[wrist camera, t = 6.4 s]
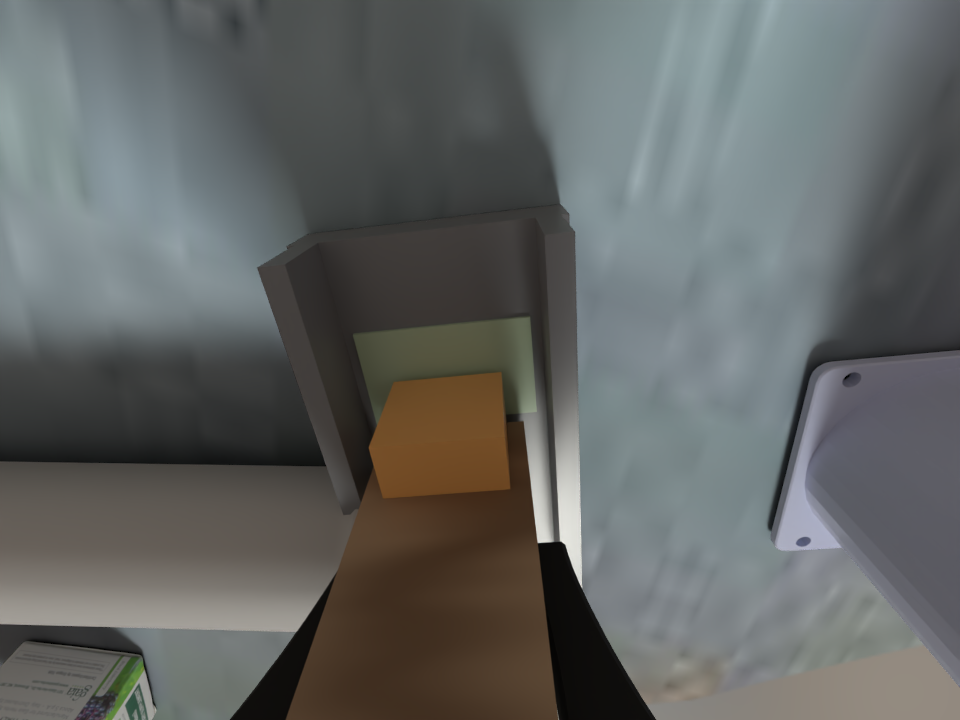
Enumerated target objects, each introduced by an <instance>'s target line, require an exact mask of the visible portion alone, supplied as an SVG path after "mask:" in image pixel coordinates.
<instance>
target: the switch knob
mask: <svg viewBox="0 0 960 720" xmlns="http://www.w3.org/2000/svg"><path fill="white" fill-rule="evenodd" d="M369 451H370V455H371V458H372V462H373V465H374V469H375V472H376V476H377V479H378V483H379V486H380V490H381V493H382V497H383V499H386V498H399V497H413V496H426V495H440V494H453V493H467V492H480V491H494V490H507V489H510V474H509V456H508V438H507V421H506V410H505V401H504V391H503V382H502V373H501V372H496V373H485V374H474V375H464V376H453V377H442V378H431V379H420V380H410V381H399V382H394V383H393V385H392V388H391V390H390V393H389V396H388V398H387V401H386V404H385V406H384V409H383V411H382V414H381V417H380V419H379V422H378V425H377V427H376V430H375V432H374V435H373V438H372V440H371V443H370V445H369Z"/></svg>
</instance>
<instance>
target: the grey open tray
mask: <svg viewBox="0 0 960 720" xmlns="http://www.w3.org/2000/svg"><path fill="white" fill-rule="evenodd" d="M257 268H258V271H259V274H260V277H261V280H262V283H263V286H264V289H265V291H266V294H267V297H268V300H269V303H270V306H271V309H272V312H273V314H274V317H275V320H276V323H277V326H278V329H279V332H280V334H281V337H282V340H283V343H284V346H285V349H286V352H287V355H288V357H289V360H290V363H291V366H292V369H293V372H294V375H295V378H296V380H297V383H298V386H299V389H300V392H301V395H302V398H303V401H304V403H305V406H306V409H307V412H308V415H309V418H310V421H311V424H312V426H313V429H314V432H315V435H316V438H317V441H318V444H319V446H320V449H321V452H322V455H323V458H324V461H325V464H326V467H327V469H328V472H329V475H330V478H331V481H332V484H333V487H334V490H335V492H336V495H337V498H338V501H339V504H340V507H341V510H342V513H343V515H350V514H351V513H352V512H353V511H354V510H355V509H359V507H360V504H361V502H362V499H363V496H364V493H365V490H366V487H367V484H368V481H369V479H370V476H371V473H372V470H373V467H374V465H373V462H372V458H371V455H370V451H369V445H370V443H371V440H372V438H373V435H374V432H375V430H376V427H377V425H378V422H379V419H380V417H381V414H382V411H383V409H384V406H385V404H386V401H387V398H388V396H389V393H390V390H391V388H392V385H393V383H394V382H399V381H410V380H420V379H431V378H442V377H453V376H464V375H474V374H485V373H496V372H501V373H502V382H503V391H504V401H505V410H506V421H507V423H508V422H519V421H524V428H525V437H526V446H527V454H528V463H529V472H530V480H531V489H532V498H533V507H534V515H535V524H536V533H537V541H538V543H545V542H560V541H561V542H562V543H564V544H565V545H566V548H567V552H568V555H569V558H570V561H571V564H572V566H573V569H574V571H575V574H576V576H577V579H578V581H579V583H580V585H581V588H582V563H581V513H580V463H579V413H578V363H577V313H576V263H575V231H574V230H573V229H572V228H571V226H570V225H569V213H568V212H567V211H566V210H565V209H564V208H563V206H562V205H561V204H559V205H550V206H542V207H533V208H525V209H516V210H508V211H499V212H491V213H482V214H474V215H465V216H457V217H448V218H440V219H431V220H423V221H414V222H406V223H397V224H389V225H380V226H372V227H364V228H355V229H347V230H338V231H330V232H321V233H313V234H307V235H306V236H304V237H302V238H300V239H299V240H297V241H295V242H293V243H292V244H290V245H288V246H287V250H286V251H284V252H283V253H281V254H279V255H278V256H276V257H274V258H273V259H271V260H269V261H268V262H266V263H264V264H262V265H261V266H259V267H257Z"/></svg>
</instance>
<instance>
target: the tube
mask: <svg viewBox="0 0 960 720" xmlns="http://www.w3.org/2000/svg"><path fill="white" fill-rule="evenodd" d="M358 510H359V509H355V510H354V511H353V512H352V513H351V514H350V515H343V513H342V510H341V507H340V504H339V501H338V498H337V495H336V492H335V490H334V487H333V484H332V481H331V478H330V475H329V472H328V469H327V467H323V466H258V465H193V464H128V463H63V462H0V624H16V625H54V626H92V627H130V628H167V629H205V630H243V631H281V632H297V631H298V629H299V628H300V626H301V625H302V623H303V622H304V621H305V619H306V618H307V616H308V615H309V613H310V612H311V610H312V609H313V607H314V606H315V604H316V603H317V601H318V600H319V598H320V597H321V595H322V594H323V592H324V591H325V589H326V588H327V586H328V585H329V583H330V582H331V580H332V578H333V577H334V575H335V574H336V572H337V571H338V568H339V565H340V562H341V559H342V556H343V553H344V550H345V548H346V545H347V542H348V539H349V536H350V533H351V530H352V527H353V525H354V522H355V519H356V516H357V513H358Z"/></svg>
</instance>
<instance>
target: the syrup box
mask: <svg viewBox="0 0 960 720" xmlns="http://www.w3.org/2000/svg"><path fill="white" fill-rule="evenodd" d="M155 712H156V707H155V706H154V705H153V703H152V696H151V692H150V688H149V684H148V680H147V676H146V673H145V669H144V665H143V658H142V656H141V655H137V654H131V653H124V652H115V651H107V650H100V649H92V648H84V647H75V646H67V645H56V644H47V643H38V642H30V641H25V642H23V643H22V644H21V645H20V646H19V647H18V648H17V649H16V650H15V651H14V653H13V654H12V655H11V656H10V657H9V658H8V659H7V660H6V661H5V662H4V663H3V664H2V666H1V667H0V720H152V719H153V717H154V714H155Z"/></svg>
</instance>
